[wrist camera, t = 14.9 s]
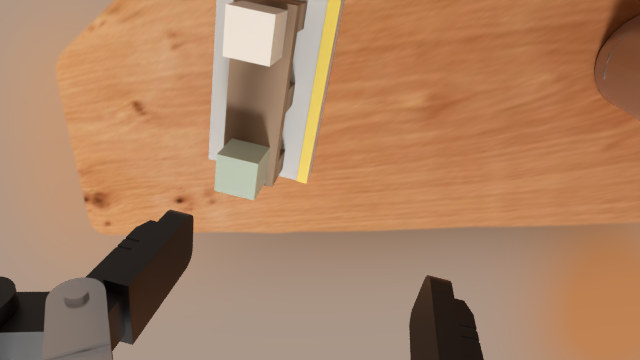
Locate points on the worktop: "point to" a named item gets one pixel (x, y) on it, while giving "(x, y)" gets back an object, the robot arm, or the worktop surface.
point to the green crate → (241, 168)
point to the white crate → (254, 32)
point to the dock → (306, 73)
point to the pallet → (264, 92)
